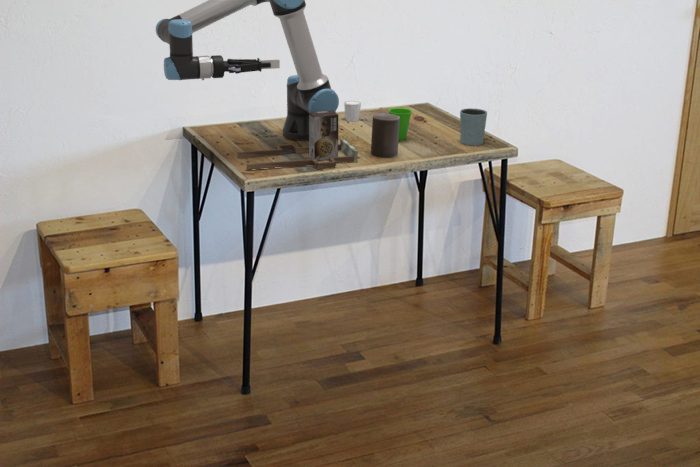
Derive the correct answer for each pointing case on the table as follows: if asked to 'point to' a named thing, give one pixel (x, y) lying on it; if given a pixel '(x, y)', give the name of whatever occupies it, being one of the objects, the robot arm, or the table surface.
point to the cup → (402, 120)
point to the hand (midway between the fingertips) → (279, 63)
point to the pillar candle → (385, 135)
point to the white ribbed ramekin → (352, 110)
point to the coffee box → (323, 134)
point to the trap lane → (291, 148)
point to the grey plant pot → (472, 126)
